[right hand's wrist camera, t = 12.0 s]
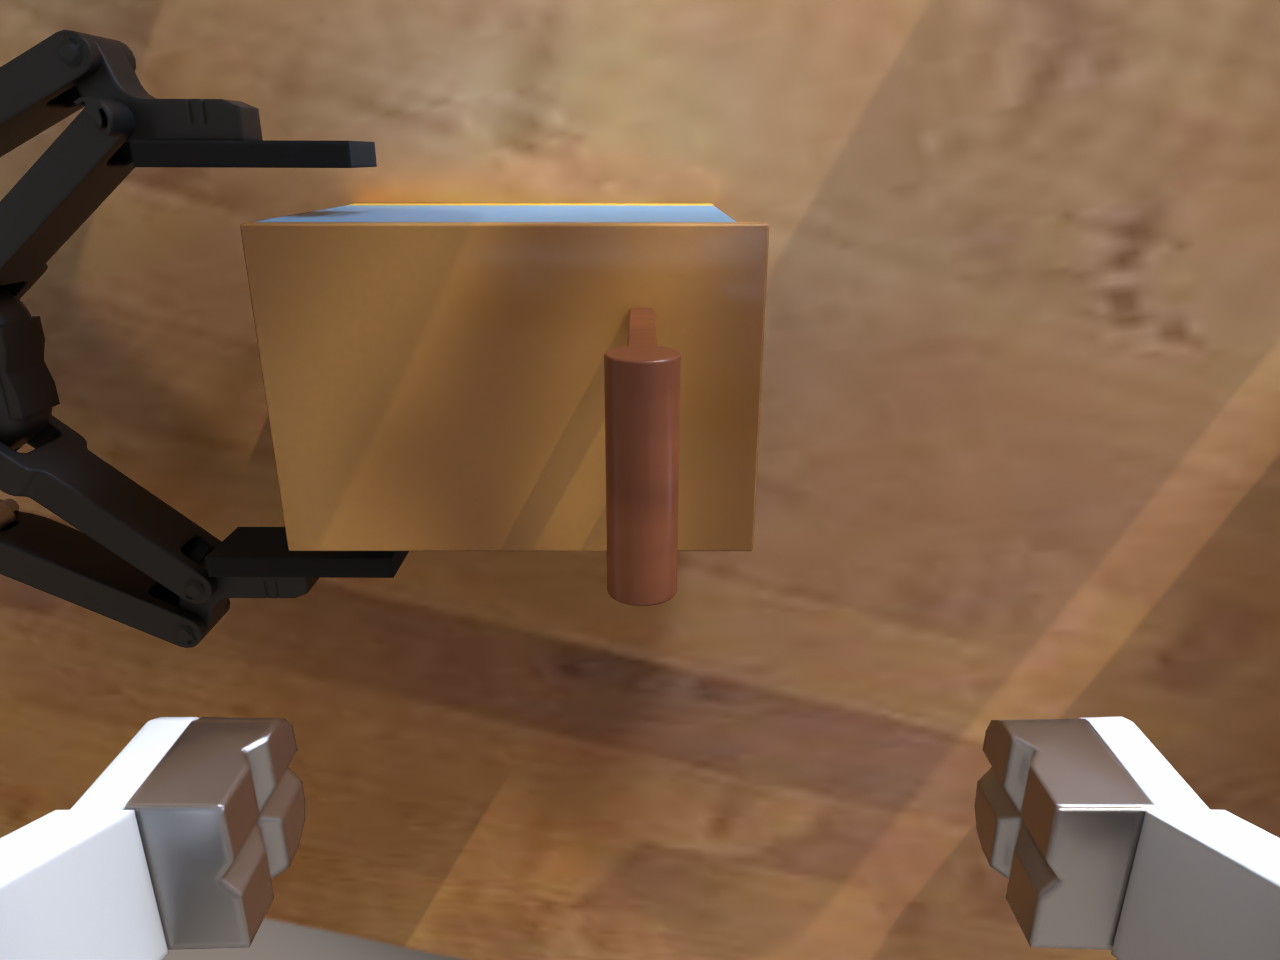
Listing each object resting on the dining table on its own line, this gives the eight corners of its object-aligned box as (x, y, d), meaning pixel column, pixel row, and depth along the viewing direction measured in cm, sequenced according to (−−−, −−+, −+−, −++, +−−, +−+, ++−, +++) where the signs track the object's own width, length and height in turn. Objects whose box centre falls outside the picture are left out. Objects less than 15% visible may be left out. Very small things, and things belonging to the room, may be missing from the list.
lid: (765, 221, 25) (822, 253, 17) (750, 541, 28) (792, 688, 21) (251, 221, 25) (73, 252, 17) (297, 541, 28) (167, 688, 21)
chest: (712, 203, 34) (738, 221, 25) (705, 447, 38) (726, 540, 29) (354, 203, 34) (251, 221, 25) (380, 447, 38) (297, 540, 29)
